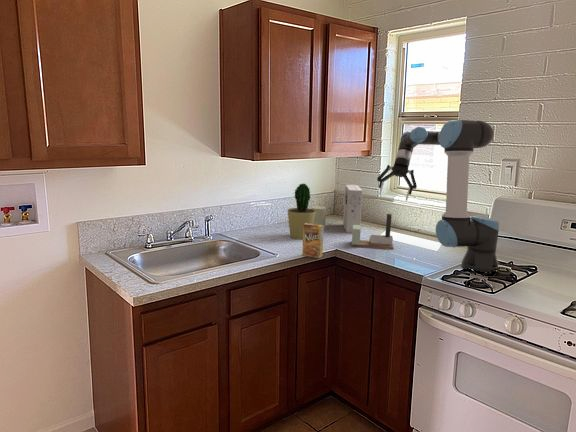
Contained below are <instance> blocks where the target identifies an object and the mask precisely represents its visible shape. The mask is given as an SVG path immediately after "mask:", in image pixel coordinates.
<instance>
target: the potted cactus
mask: <svg viewBox="0 0 576 432" xmlns="http://www.w3.org/2000/svg"><path fill="white" fill-rule="evenodd" d="M295 186H296V188H295V189H294V196H293V199H295V203H296V207H291V208H288V209H287V210H286V211H287V217H288V225H289V226H288V227H289V235H290V238H291V239H295V240H303V227H304V224H305V223H311V224H313V223H314V218H315V212H316V210H314V209H311V208H310V207H309V203H310V201H312V199H311V191H310V190H311V189H310V187H309V186H308V185H307V183H304V182H303V183H300V184H298V185H295ZM295 203H294V204H295Z"/></svg>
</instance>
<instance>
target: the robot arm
mask: <svg viewBox="0 0 576 432" xmlns="http://www.w3.org/2000/svg"><path fill="white" fill-rule="evenodd" d="M494 135H495V133H494V129H493V127H492V125H490V123H488V122H486V121H483V120H468V119H453V120H452V119H451V120H448V121H446V122H445V123H444V124H443V126H442V127H441V128H440V129H426V127H423V126H419V125H418V126H416V127H414V128H413V129H412V130H411V131H405V132H402V134H401V137H400V139H399V140H400V141H399V145H398V149H397V152H396V156H395V159H394V163H393V166H391V165H389V164H387V166H386V168H385V169H384V170H383V171H382V172H381V174H379V176H377V180H376V181H377V182H379V185H378V188H379V192H378V195H379V196H381V195H382V192H383V187H384V183H385V182H386V181H387V180H389V179H390V178H393V177H394V176H395V177H399V178H403V179H404V180H405V182H406V184H407V185H408V189H407V192H406V197H405V201H408V199H409V196H411V195H412V193H413V192H412V191H413V190H416V189H417V182H416V179H415V174H414V171H415V170H414V169H411V170H409V166H410V164H411V163H410V162H411V159H412V157H413V156H412V155H413V152H414V148H415V147H416V146H418V145H422V146H423V145H425V146H426V145H428V146H429V145H432V146H433V145H434V146H440V147H441V148H443V149H444V152H443V153H444V154H445V155H446V156H447V168H446V169H447V172H446V173H447V174H446V193H445V194H446V198H445V212H444V213H443V214H441V219H439V220H438V221H437V223H436V224H435V225H436V226H435V233H436V238H437V241H438V242H439V243H440V244H441V245H442V246H444V247H447V248H458V247H459V248H461V247H464V248H465V247H467V249H466V252H465V254H464V255H463V257H462V260H461V265H462V266H461V265H460V266H461V268H463V267H464V268H470V269H473V270H476V271H480V272H490V271H492V270H494V269H497V268H498V269H499V262H498V259H497V254H496V253H497V244H498V236H499V232H500V223H499V222H498V220H496V219H493V218H490V217H487V216H480V215H472V216H471V215H470V214H469V213H468V196H469V191H468V190H469V174H470V173H469V171H470V170H469V169H470V156H471V155H472V154H473V153H474V149H482V148H484V147H486V146H488V145H490V144H491V142H492V141H493V138H494ZM391 170H392V171H391ZM389 171H391V172H390V173H388V172H389ZM387 173H388V174H387ZM386 174H387V175H386ZM407 174H409V176H410V178H411V181H410V178H409V177H408V175H407ZM464 268H463V269H464Z"/></svg>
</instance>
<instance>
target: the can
mask: <svg viewBox="0 0 576 432" xmlns="http://www.w3.org/2000/svg"><path fill="white" fill-rule="evenodd" d="M310 209H314V210H316V212H315V218H314V223H313V224H320V225H324V228H326V219H327V218H326V217H327V207H326V206H322V205H313V206H311V208H310Z"/></svg>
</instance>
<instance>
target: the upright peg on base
mask: <svg viewBox="0 0 576 432" xmlns="http://www.w3.org/2000/svg"><path fill="white" fill-rule="evenodd" d="M391 226H392V213H386V223H385V234H384V235H385V237H390V236H391V229H392V227H391ZM368 241H369V242H371V235H370V236H369V239H368Z"/></svg>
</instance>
